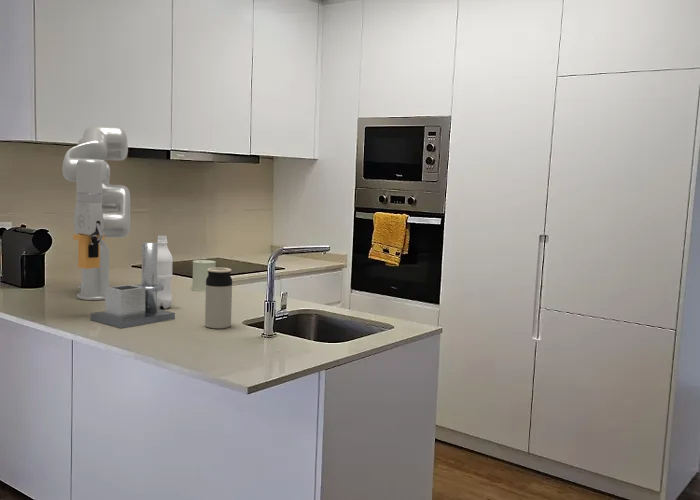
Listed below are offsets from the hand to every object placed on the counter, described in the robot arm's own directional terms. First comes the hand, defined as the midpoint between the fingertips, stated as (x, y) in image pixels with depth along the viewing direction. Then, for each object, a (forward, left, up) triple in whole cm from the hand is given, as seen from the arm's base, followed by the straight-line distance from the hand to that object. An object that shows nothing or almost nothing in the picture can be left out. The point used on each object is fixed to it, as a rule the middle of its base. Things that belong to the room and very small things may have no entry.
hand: (89, 256), depth 218 cm
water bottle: (+4, +25, -20) cm, 32 cm away
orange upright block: (0, 0, -4) cm, 4 cm away
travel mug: (+38, +20, -20) cm, 47 cm away
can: (-14, +60, -20) cm, 65 cm away
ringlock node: (+13, +7, -19) cm, 24 cm away
